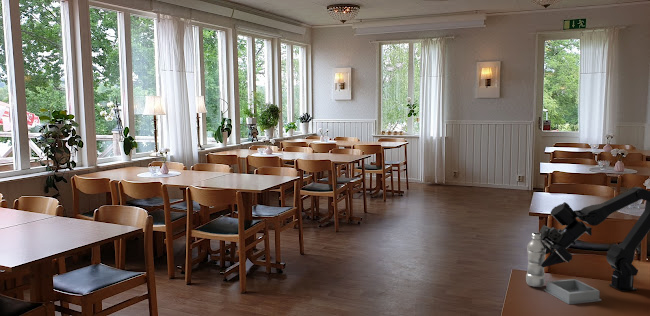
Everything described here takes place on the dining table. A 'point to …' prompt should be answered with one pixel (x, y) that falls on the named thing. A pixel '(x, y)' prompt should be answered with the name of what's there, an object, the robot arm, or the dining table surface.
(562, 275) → the dining table surface
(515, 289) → the dining table surface
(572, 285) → the bottle dock
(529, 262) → the plastic bottle
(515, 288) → the dining table surface
